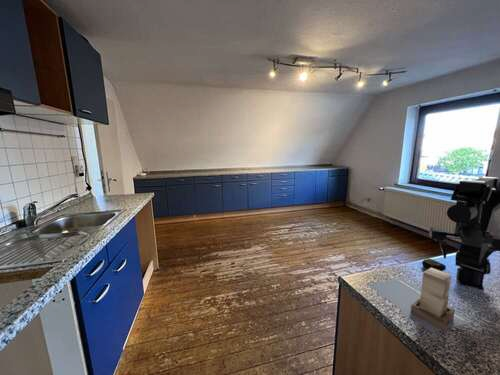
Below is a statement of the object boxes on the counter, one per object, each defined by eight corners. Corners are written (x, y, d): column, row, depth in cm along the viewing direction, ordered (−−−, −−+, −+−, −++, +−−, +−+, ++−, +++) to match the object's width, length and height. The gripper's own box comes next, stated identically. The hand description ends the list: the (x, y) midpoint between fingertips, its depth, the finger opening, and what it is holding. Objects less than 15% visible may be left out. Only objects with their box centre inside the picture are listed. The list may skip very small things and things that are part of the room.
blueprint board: (401, 280, 89) (401, 277, 89) (473, 324, 66) (474, 321, 66) (367, 286, 85) (367, 283, 85) (431, 335, 62) (431, 332, 62)
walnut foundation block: (422, 303, 74) (423, 295, 73) (453, 318, 67) (454, 310, 67) (410, 312, 70) (411, 304, 69) (442, 329, 63) (444, 321, 62)
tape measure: (446, 272, 94) (447, 264, 94) (434, 275, 92) (436, 267, 92) (429, 265, 101) (430, 257, 100) (418, 267, 99) (419, 259, 98)
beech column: (426, 302, 71) (431, 267, 69) (446, 311, 67) (451, 274, 65) (419, 308, 69) (423, 271, 67) (439, 318, 65) (444, 279, 63)
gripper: (436, 219, 73) (431, 264, 75) (521, 229, 63) (512, 280, 66) (431, 211, 82) (426, 251, 85) (504, 219, 73) (496, 263, 75)
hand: (462, 261), depth 77 cm, fingers open, 9 cm apart
